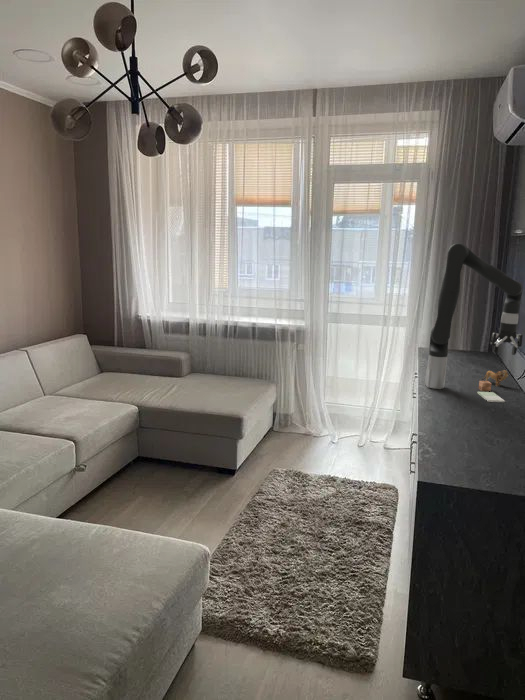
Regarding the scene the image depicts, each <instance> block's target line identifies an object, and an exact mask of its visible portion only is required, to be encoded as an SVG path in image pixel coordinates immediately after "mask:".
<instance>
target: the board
mask: <svg viewBox="0 0 525 700" xmlns="http://www.w3.org/2000/svg"><path fill="white" fill-rule="evenodd" d="M476 393H477V394H478V395H479V396H480V397H481V398H483V399H484V400H485V401H486V400H487V402H490V403H491V402H492V403H505V402H506V400H504V399H503V398H501V396H499V395H498V394H497V393H495V392H494V391H491V392H489V391H476Z"/></svg>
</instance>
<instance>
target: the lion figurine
mask: <svg viewBox="0 0 525 700" xmlns="http://www.w3.org/2000/svg"><path fill="white" fill-rule="evenodd" d="M508 377H509V373H508V371H507V370H505V369H502V370H500V371H496V372H493V371H492V370H488V371H486V373H485V376H484V377H483V378H481V379H480V381H489V379H490V378H491V379H492V380H493V381H494V380H495V387H499V386H501V382H503V381H504V380H506V379H507V378H508Z"/></svg>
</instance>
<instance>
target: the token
mask: <svg viewBox="0 0 525 700" xmlns="http://www.w3.org/2000/svg"><path fill="white" fill-rule="evenodd" d="M478 390H480V392H489V391H490V392H492V391H491V390H492V382H490V381H489V380H488V381H486V380H479V383H478Z"/></svg>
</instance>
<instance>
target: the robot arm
mask: <svg viewBox="0 0 525 700" xmlns="http://www.w3.org/2000/svg"><path fill="white" fill-rule="evenodd" d="M446 255H447V256H446V264H445V265H446V267H445V272H444V275H443V278H442V282H441V287H440V290H439V296H438V299H437V301H438V302H437V314H436V315H437V317H436V321H435V324H434V326H433V327H432V328H431V331H430V335H429V336H430V338H429V346H428V347H429V351H428V361H427V367H426V368H425V370H426V371H425V379H424V385H425V386H426V387H427V388H429V389H434V390H442V389H444V388H445V385H446V384H445V382H446V371H447V365H448V354H449V340H450V338H451V328H452V321H453V317H454V313H455V311H456V307H457V305H458V301H459V295H460V290H461V274H462V272H461V271H462V268H463V265H465V266H466V267H469V268H470V269H472V270H473V271H475V272H476V273H477V274H478V275H479V276H480V277H482V278H484V279H485V280H486V281H488V282H489V283H490V284H492V285H494V286H495V287H497V288H499V289H500V290H501V291H502V292H504V293H505V294H506V295H505V300H504V303H503V307H502V313H501V318H500V325H499V331H498V333H497V332H491V333H492V334H491V336H490V337H491V339H490V342H489V344H490V345H492V346H493V350H492V351H493V353H494V354H495V355H497V354H498V351H499V346H500V345H501V344H503V343H508V344H511V345H512V347H511V348H512V349H511V355H512V356H515V355H516V354H517V350H518V348H519V347H522V346H523V334H521V333H518V334H517V329H518V324H519V313H520V304H521V299H522V295H523V290H524V289H523V288H524V286H523V283H521V281H519V280H515V279H513V278H511V277H510V276H508V275H507V274H506V273H505V272H503V270H501V269H499V268H497V267H495V266H494V265H492V264H490V263H488V261H486V260H483V259H482V258H480V257H479V256H478V255H476V253H474V252H473V251H471V250H470V249H469V248H468V246H466V245H465V244H464V243H454V244H452V245H451V246H450V247H449V248H448V250H447V254H446ZM497 338H498V339H497ZM496 339H497V340H496ZM515 339H517V341H516V340H515Z"/></svg>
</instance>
